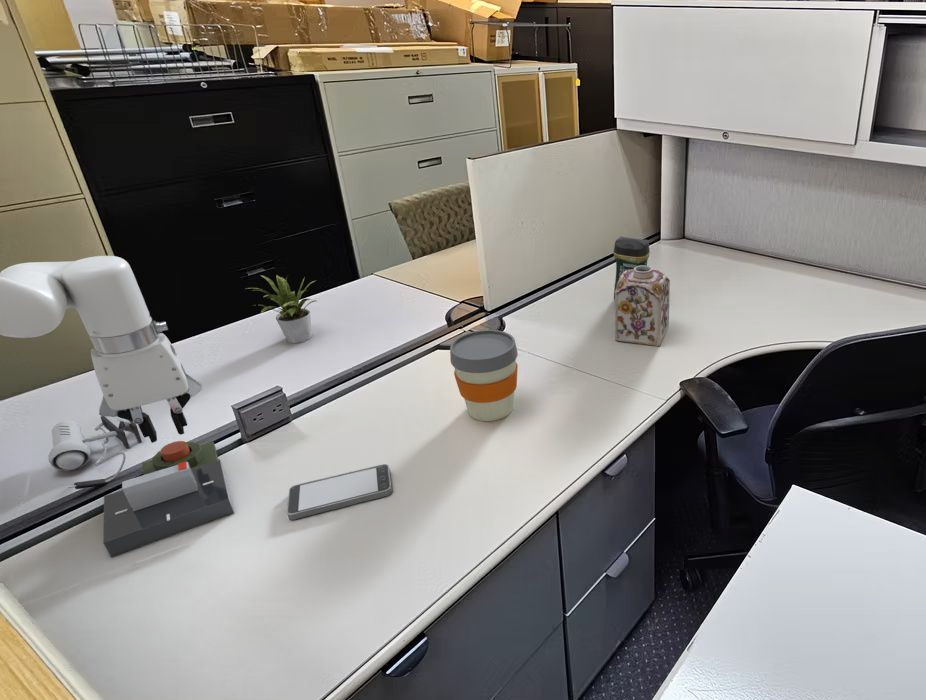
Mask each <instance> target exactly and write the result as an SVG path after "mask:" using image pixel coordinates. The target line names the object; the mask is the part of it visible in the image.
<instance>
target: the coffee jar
mask: <svg viewBox="0 0 926 700" xmlns="http://www.w3.org/2000/svg"><path fill="white" fill-rule="evenodd" d="M614 242H615V243H614V247H613V257H614V260H615V281H614V291H613V300H614V302H615V290H616V286H617V283H618V280H619V278H620V275H621V274H622V273H623V272H624V271H627V270H631V269H634V268H635V267H637V266H641V265H645V266H648V261H649V258H650V254H651V251H650V243H649V240H648V239H641V238H634V237H626V236H619V237H617V239H616V240H615V241H614Z"/></svg>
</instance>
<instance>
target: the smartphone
mask: <svg viewBox="0 0 926 700" xmlns="http://www.w3.org/2000/svg"><path fill="white" fill-rule="evenodd" d="M390 470H391V469H390V466H389V464H388V463H381V464H378V465H377V464H376V465H374V466H369V467H365V468H360V469H357V470H353V471H348V472H345V473H340V474H334V475H332V476H331V475H330V476H327V477H322V478H319V479H315V480H309V481H306V482H302V483H298V484H294V485H292V486H290V487H289V489H288V499H287V509H286V514H287V516H288V519H289V520H290V521H291V520H293V521H294V520H297V519H302V518H306V517H309V516H314V515H317V514H321V513H325V512H329V511H333V510H336V509H340V508H345V507H349V506H352V505H356V504H360V503H364V502H368V501H371V500H376V499H379V498H383V497H387V496H390V495H391V494H392V493H393V488H392V478H391V471H390Z"/></svg>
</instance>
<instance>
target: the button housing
mask: <svg viewBox="0 0 926 700" xmlns="http://www.w3.org/2000/svg"><path fill="white" fill-rule="evenodd" d="M185 442H186V443H187V445H188V447H189V450H190V454H189V455H188V456H186V457H184V458H182V459H180V460H177V461H174V462H165V461H164V459H163V457H162V454H161V452H160V451H161V450H159V451H158V452H156V454H155V455H154V456H153V457H152V458H151V459H150V460H147V461H143V462H142V463H141V464H142V476H143V475H146V474H149V473H152V472H156V471H159V470H162V469H166V468H169V467H172V466H175V465H178V464H179V463H182V462H185V461H186V462H188V463H189V466H190V468H194V467H197V466H200V465H204V464H207V463H210V462H213V461H216V460H219V459H220V458H219V455H218V450H217V446H216V445H215V442H214V441H210V442H207V443H203V444H200V443H197V442H195V441H185Z"/></svg>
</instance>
